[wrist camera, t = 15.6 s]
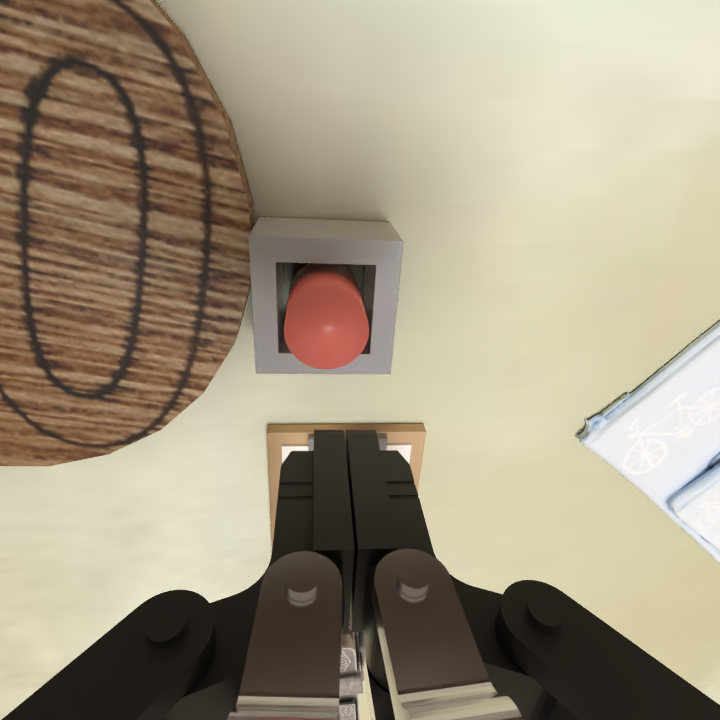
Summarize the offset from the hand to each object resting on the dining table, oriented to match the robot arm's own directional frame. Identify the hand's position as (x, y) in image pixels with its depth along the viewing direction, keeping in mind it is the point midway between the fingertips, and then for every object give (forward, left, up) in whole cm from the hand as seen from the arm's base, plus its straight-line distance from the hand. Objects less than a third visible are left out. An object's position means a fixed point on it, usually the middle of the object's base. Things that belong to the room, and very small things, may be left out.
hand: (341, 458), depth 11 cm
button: (0, 0, -11) cm, 11 cm away
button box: (0, 0, -13) cm, 13 cm away
